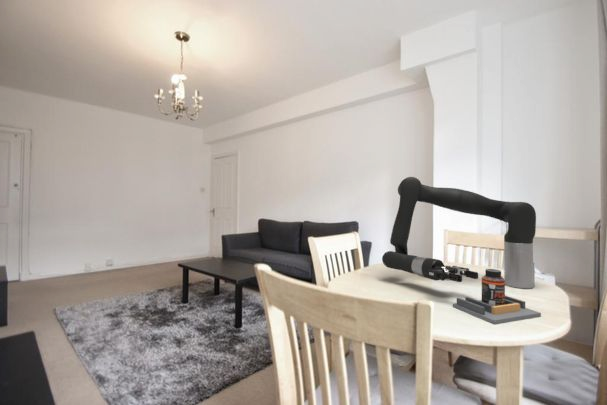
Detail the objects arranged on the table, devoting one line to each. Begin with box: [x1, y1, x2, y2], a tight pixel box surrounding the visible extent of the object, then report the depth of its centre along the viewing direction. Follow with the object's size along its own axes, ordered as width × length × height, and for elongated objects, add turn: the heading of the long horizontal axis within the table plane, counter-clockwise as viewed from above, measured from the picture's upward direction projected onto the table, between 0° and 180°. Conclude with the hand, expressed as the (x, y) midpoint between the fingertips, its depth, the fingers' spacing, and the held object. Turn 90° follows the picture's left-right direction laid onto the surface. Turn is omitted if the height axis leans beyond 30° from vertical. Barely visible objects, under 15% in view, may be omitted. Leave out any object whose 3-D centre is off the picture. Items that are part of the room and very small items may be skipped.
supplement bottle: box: [481, 268, 506, 306], centre depth 88 cm, size 6×6×11 cm
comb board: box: [452, 295, 542, 325], centre depth 88 cm, size 18×14×3 cm
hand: (469, 277), depth 95 cm, fingers open, 8 cm apart
